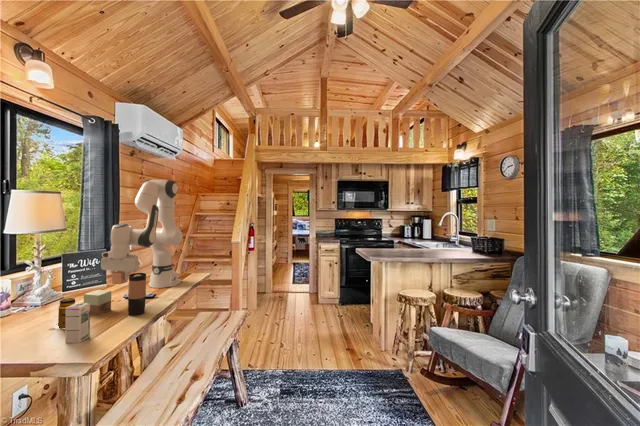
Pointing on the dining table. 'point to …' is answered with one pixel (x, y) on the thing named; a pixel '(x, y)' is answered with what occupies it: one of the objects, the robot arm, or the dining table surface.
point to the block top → (97, 297)
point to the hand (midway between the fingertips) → (120, 278)
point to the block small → (118, 277)
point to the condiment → (64, 311)
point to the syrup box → (77, 322)
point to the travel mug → (136, 294)
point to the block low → (100, 308)
